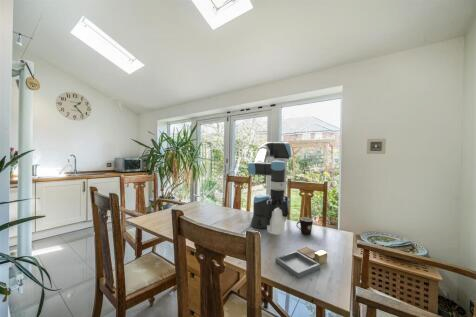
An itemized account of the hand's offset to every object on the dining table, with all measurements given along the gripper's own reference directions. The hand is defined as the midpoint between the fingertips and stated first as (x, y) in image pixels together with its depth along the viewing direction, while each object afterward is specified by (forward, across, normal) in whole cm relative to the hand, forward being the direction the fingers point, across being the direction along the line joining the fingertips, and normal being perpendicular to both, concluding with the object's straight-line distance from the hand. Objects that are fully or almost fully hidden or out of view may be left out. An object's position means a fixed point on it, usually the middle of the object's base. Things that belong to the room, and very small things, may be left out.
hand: (275, 229), depth 112 cm
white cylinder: (+1, 0, 0) cm, 1 cm away
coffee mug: (+14, +37, +12) cm, 41 cm away
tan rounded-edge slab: (+14, +15, -11) cm, 23 cm away
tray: (+13, +1, -15) cm, 20 cm away
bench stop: (+14, +15, -18) cm, 27 cm away
